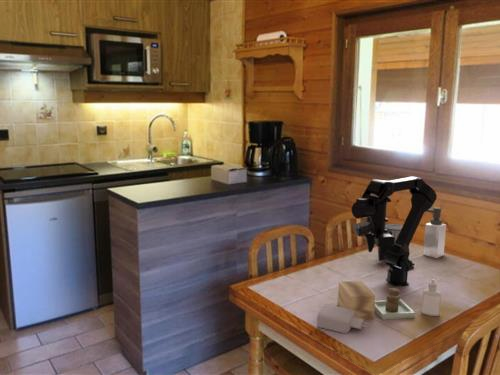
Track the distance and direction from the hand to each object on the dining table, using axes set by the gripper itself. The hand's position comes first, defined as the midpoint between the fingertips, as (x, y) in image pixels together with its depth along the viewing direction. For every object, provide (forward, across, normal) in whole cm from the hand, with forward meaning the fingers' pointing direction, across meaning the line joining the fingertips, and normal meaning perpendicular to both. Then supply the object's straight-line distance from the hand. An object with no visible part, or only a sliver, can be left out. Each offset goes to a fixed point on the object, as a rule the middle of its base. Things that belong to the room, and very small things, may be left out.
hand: (375, 256), depth 169 cm
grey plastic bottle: (+14, +26, -20) cm, 35 cm away
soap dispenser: (+13, -34, +42) cm, 56 cm away
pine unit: (+13, +16, -13) cm, 24 cm away
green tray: (+13, +18, -1) cm, 22 cm away
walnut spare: (+12, +18, -1) cm, 22 cm away
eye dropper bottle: (+13, +21, +11) cm, 27 cm away
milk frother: (+13, -26, +22) cm, 37 cm away
